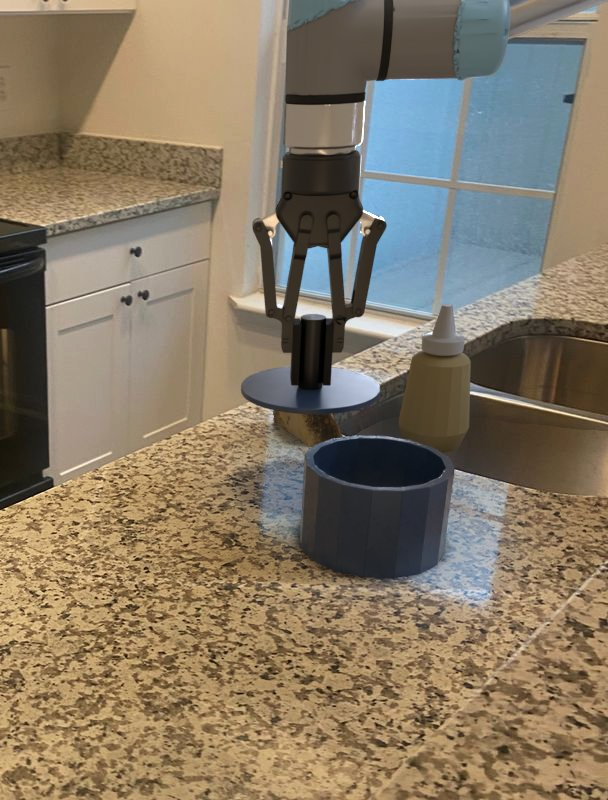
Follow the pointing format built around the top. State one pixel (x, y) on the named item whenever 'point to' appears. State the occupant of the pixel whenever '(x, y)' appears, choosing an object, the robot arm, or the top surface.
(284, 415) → the rock
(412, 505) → the pot
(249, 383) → the pot lid
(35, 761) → the top surface
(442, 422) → the squeeze bottle
